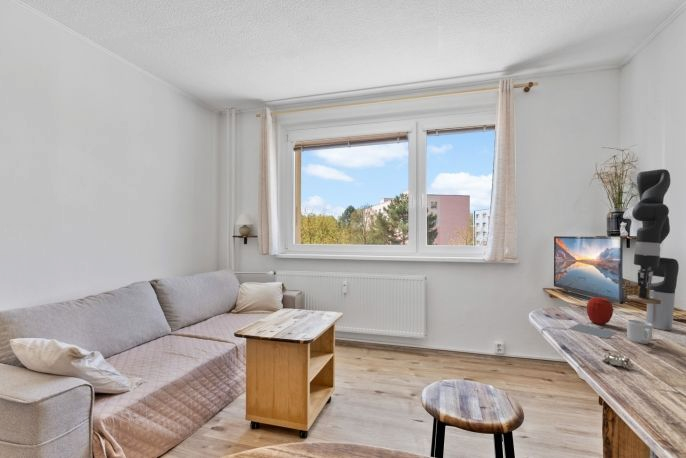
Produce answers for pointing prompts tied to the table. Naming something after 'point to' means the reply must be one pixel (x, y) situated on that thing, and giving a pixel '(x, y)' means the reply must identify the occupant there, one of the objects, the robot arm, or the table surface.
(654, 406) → the table surface
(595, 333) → the mat
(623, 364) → the ornament
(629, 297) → the lid
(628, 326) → the cup
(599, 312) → the apple
